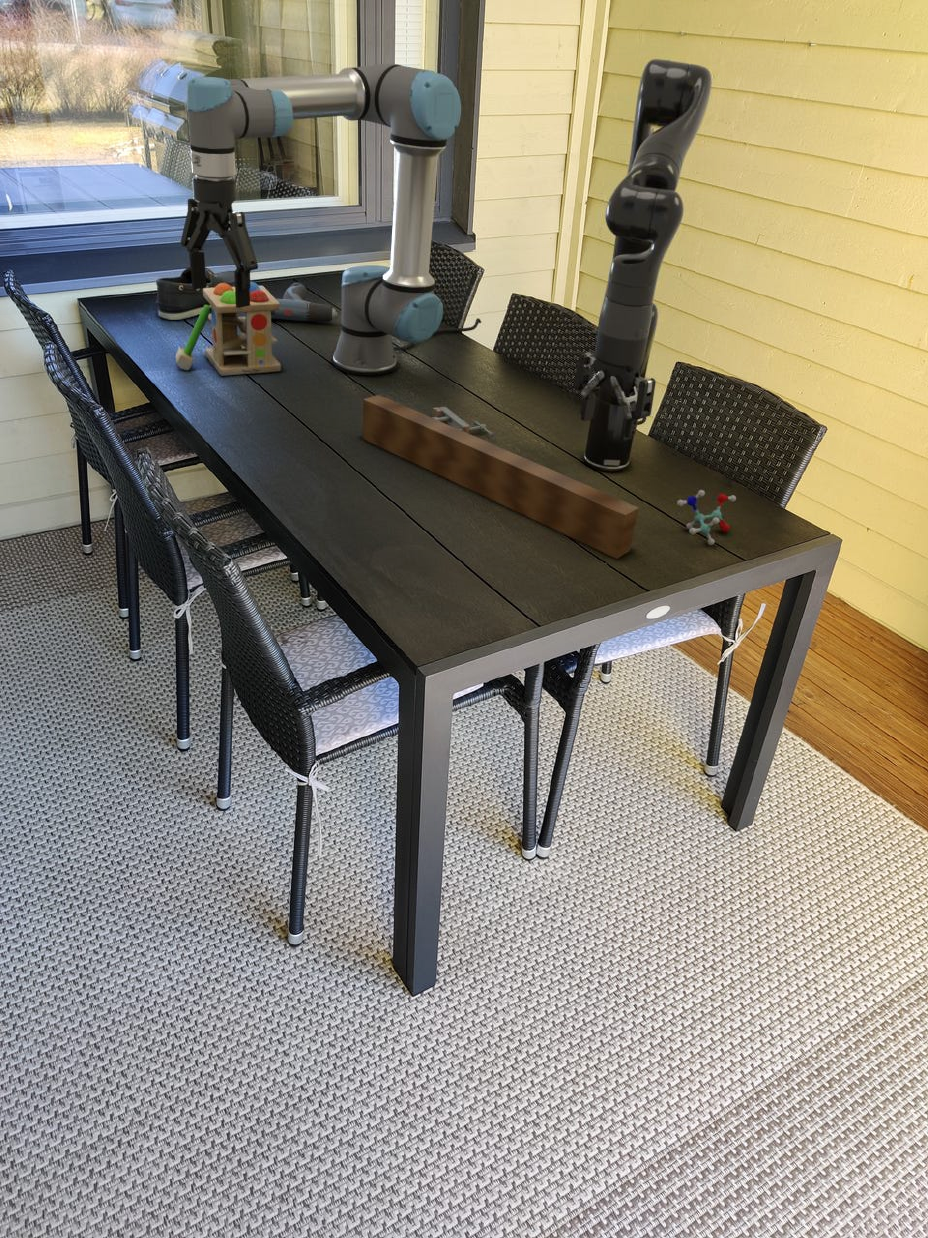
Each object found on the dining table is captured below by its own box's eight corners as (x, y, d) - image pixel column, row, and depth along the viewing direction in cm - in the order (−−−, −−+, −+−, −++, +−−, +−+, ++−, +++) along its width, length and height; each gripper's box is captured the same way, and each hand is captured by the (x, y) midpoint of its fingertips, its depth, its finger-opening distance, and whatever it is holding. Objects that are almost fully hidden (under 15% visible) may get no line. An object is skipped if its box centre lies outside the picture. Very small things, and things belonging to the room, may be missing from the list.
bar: (362, 438, 203) (363, 399, 198) (376, 433, 205) (378, 394, 201) (616, 559, 170) (625, 515, 166) (630, 551, 173) (639, 507, 168)
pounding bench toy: (183, 379, 220) (176, 299, 210) (169, 357, 231) (162, 280, 221) (282, 371, 230) (280, 294, 220) (264, 350, 240) (262, 276, 230)
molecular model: (741, 539, 172) (725, 484, 171) (688, 553, 176) (672, 500, 174) (745, 528, 183) (730, 477, 181) (695, 542, 186) (680, 492, 185)
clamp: (420, 409, 212) (460, 403, 217) (420, 418, 213) (460, 412, 218) (454, 436, 202) (496, 430, 206) (454, 446, 203) (495, 439, 208)
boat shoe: (264, 299, 275) (261, 260, 270) (175, 322, 251) (171, 280, 246) (230, 290, 281) (227, 253, 275) (140, 312, 257) (136, 271, 251)
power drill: (344, 304, 276) (335, 327, 259) (277, 298, 275) (264, 321, 258) (344, 285, 273) (335, 306, 256) (277, 279, 272) (264, 300, 255)
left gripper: (155, 164, 178) (165, 283, 190) (240, 192, 165) (245, 317, 177) (190, 161, 183) (198, 277, 195) (275, 188, 170) (278, 310, 182)
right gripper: (676, 339, 145) (655, 440, 154) (605, 311, 153) (589, 408, 163) (643, 348, 141) (623, 451, 150) (572, 318, 149) (557, 417, 158)
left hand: (220, 296), depth 186 cm, fingers open, 13 cm apart
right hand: (606, 428), depth 156 cm, fingers open, 8 cm apart
